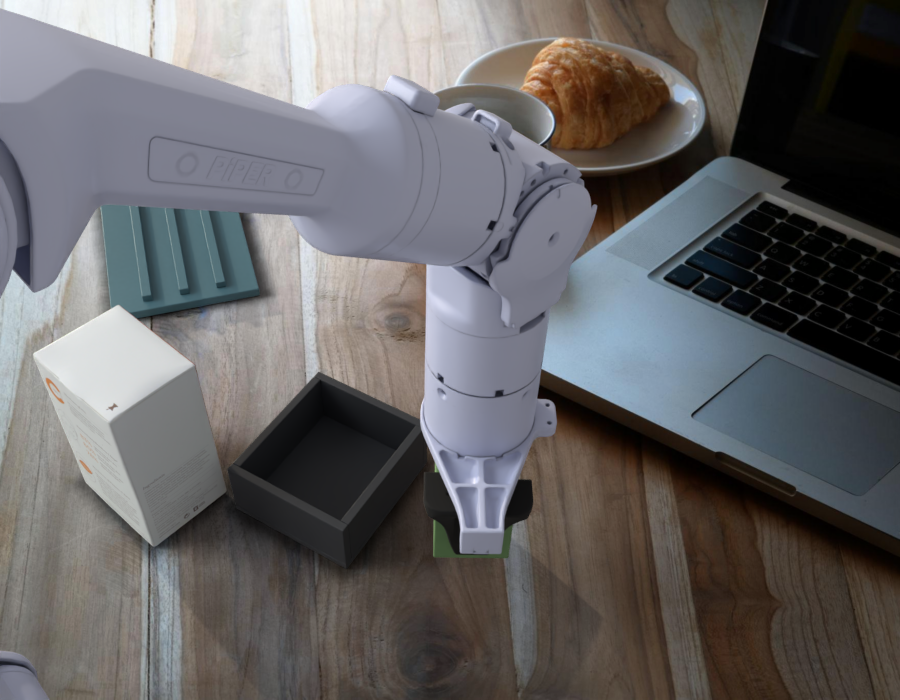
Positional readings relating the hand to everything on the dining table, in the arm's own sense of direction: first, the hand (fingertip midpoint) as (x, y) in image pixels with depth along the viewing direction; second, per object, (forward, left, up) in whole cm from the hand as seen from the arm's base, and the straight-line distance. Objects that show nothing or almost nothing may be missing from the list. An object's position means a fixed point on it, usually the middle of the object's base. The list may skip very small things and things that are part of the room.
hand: (471, 513), depth 55 cm
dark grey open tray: (+2, +12, -8) cm, 14 cm away
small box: (-5, +22, -8) cm, 24 cm away
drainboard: (+17, +40, -8) cm, 44 cm away
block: (0, 0, -1) cm, 1 cm away
